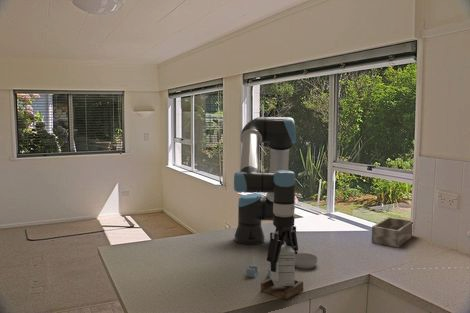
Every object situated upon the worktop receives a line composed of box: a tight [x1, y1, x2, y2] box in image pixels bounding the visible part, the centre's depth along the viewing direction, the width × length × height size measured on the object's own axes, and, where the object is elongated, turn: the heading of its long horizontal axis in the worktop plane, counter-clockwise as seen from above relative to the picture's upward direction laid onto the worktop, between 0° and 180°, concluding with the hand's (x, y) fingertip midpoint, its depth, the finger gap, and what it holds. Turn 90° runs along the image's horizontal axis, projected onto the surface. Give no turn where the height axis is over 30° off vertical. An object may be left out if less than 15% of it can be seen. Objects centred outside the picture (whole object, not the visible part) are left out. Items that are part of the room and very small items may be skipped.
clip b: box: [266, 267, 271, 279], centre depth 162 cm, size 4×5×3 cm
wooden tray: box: [260, 278, 304, 301], centre depth 149 cm, size 11×11×3 cm
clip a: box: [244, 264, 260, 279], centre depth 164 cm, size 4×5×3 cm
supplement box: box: [272, 244, 296, 286], centre depth 149 cm, size 7×7×13 cm
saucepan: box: [295, 252, 318, 270], centre depth 177 cm, size 11×18×4 cm, turn 71°
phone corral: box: [371, 216, 413, 248], centre depth 214 cm, size 13×25×8 cm, turn 141°
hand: (282, 275), depth 149 cm, fingers closed on supplement box, 10 cm apart
